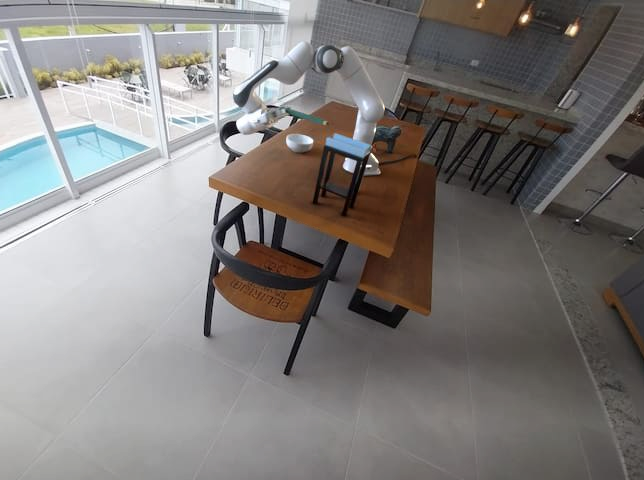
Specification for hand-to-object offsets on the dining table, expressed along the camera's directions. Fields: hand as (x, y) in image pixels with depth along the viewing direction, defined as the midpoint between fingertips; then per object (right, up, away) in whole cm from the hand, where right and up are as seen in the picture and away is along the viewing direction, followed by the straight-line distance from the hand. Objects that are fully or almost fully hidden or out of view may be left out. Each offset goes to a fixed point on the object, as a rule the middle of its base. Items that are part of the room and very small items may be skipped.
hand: (287, 109), depth 134 cm
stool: (+21, -40, +10) cm, 47 cm away
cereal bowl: (+5, +3, +54) cm, 54 cm away
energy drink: (+33, -30, +23) cm, 51 cm away
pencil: (+7, -4, -2) cm, 8 cm away
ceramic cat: (+61, +11, +74) cm, 96 cm away
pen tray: (+25, -20, -8) cm, 33 cm away
